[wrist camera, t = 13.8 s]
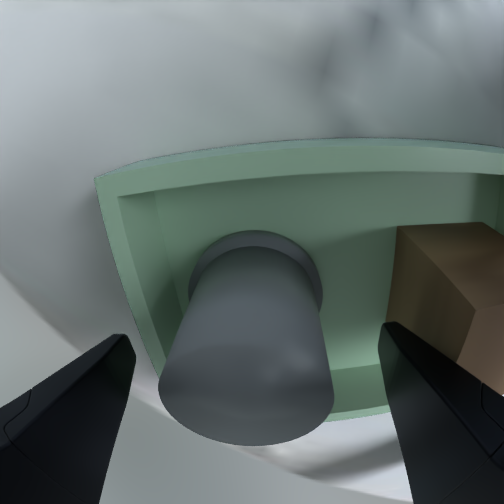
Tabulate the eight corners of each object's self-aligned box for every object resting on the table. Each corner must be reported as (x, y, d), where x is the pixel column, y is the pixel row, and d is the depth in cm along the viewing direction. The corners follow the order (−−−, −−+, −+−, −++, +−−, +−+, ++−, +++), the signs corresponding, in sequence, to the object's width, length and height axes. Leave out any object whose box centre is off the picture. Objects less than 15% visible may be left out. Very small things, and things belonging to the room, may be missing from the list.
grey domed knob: (319, 224, 9) (359, 321, 5) (319, 335, 11) (337, 444, 7) (179, 236, 10) (116, 331, 5) (205, 341, 12) (178, 446, 7)
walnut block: (482, 221, 9) (567, 285, 4) (463, 308, 11) (519, 387, 6) (396, 225, 9) (475, 309, 5) (385, 321, 11) (427, 421, 6)
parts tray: (502, 147, 8) (552, 162, 5) (463, 345, 12) (487, 384, 9) (139, 161, 10) (94, 178, 7) (194, 374, 14) (180, 423, 11)
